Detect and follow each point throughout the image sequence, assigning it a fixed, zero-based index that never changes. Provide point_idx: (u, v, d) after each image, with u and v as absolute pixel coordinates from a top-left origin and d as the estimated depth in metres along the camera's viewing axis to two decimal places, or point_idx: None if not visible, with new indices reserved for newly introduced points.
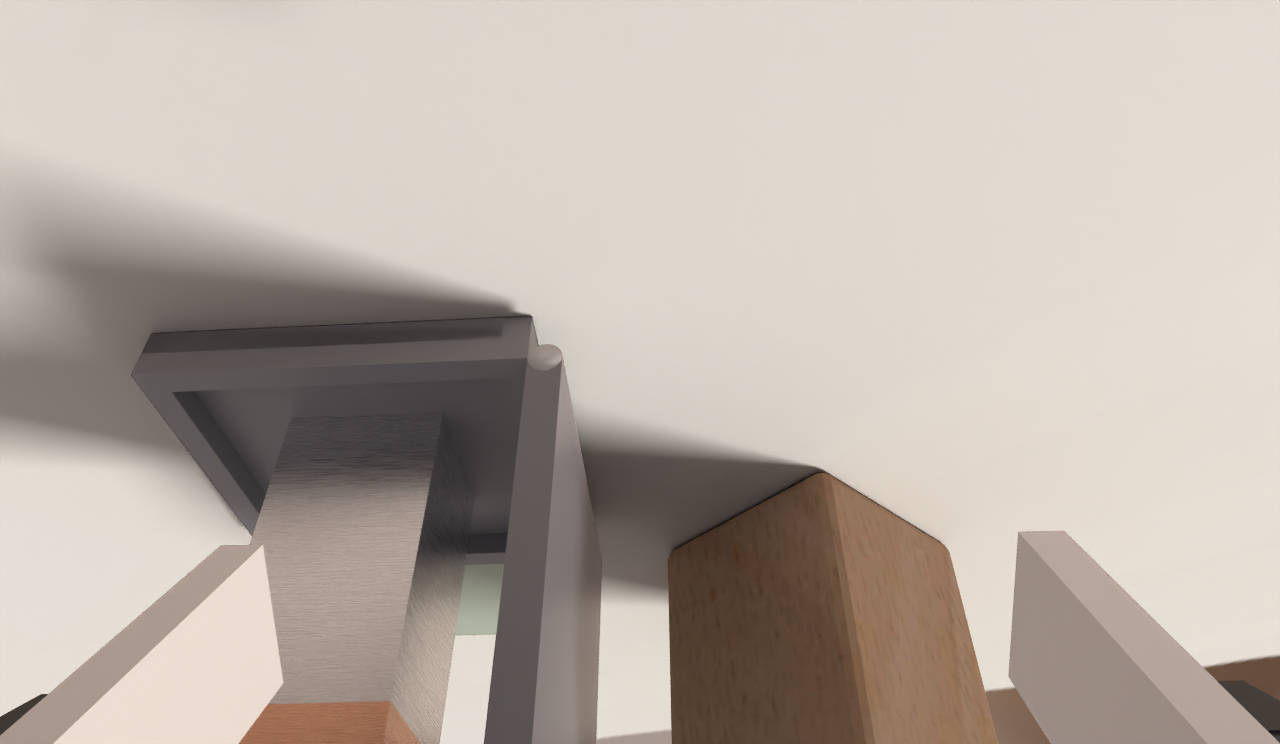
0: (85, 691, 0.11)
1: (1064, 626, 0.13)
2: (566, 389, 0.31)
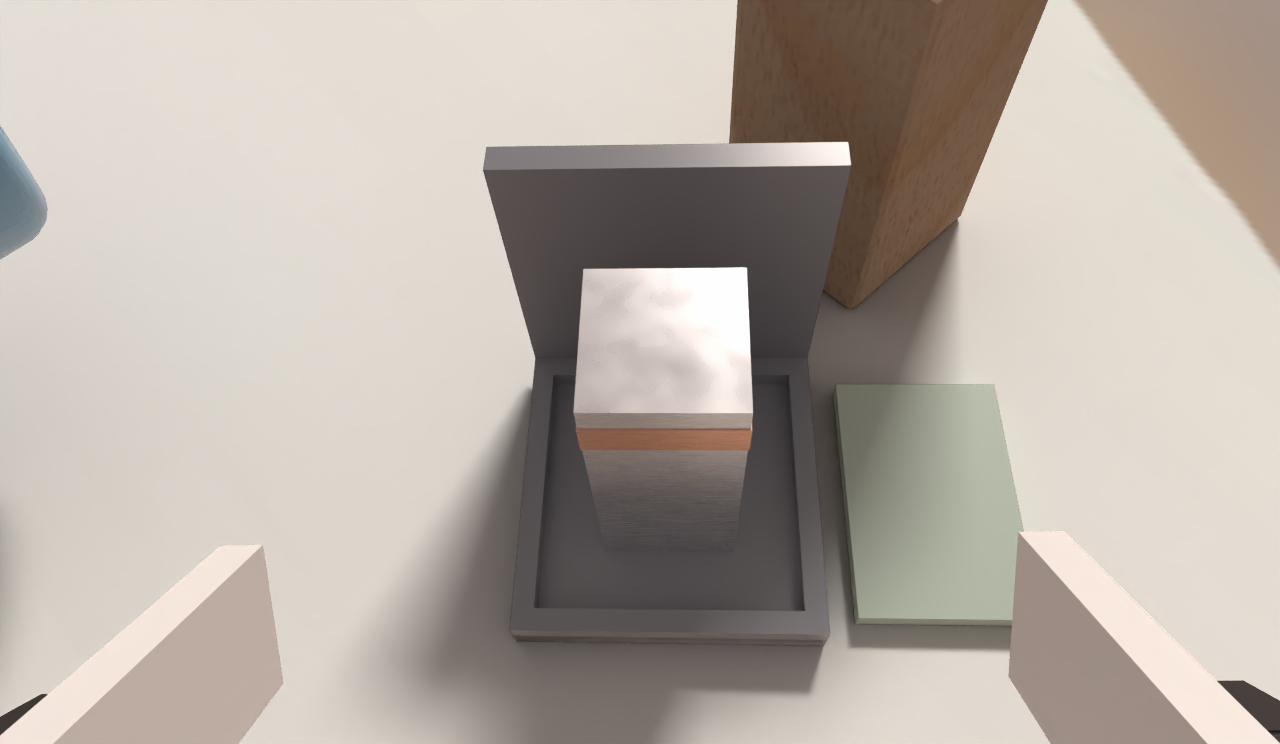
0: (85, 691, 0.11)
1: (1064, 626, 0.13)
2: None
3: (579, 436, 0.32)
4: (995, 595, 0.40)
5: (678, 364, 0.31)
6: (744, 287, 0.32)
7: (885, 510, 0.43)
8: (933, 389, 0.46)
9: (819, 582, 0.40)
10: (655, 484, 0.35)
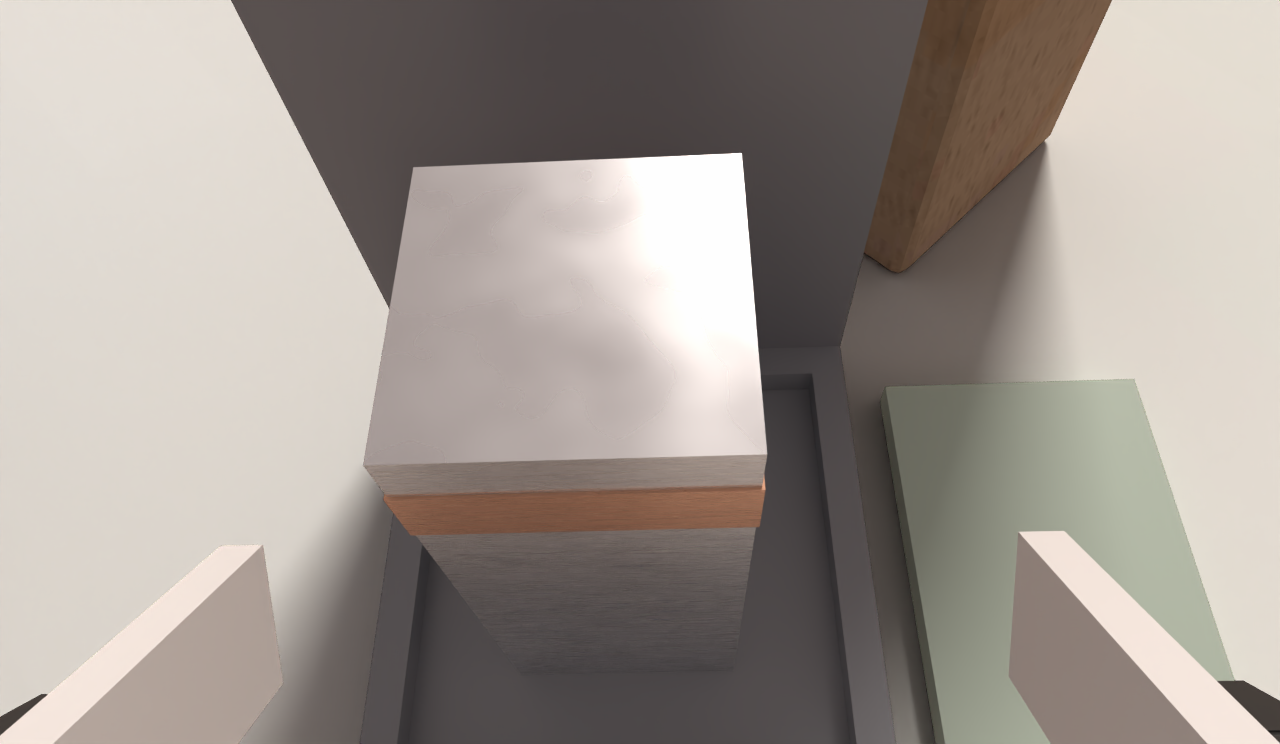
0: (85, 691, 0.11)
1: (1065, 627, 0.13)
2: None
3: (397, 511, 0.15)
4: None
5: (600, 350, 0.14)
6: (738, 190, 0.16)
7: (981, 591, 0.26)
8: (1039, 390, 0.29)
9: (882, 727, 0.23)
10: (580, 587, 0.18)
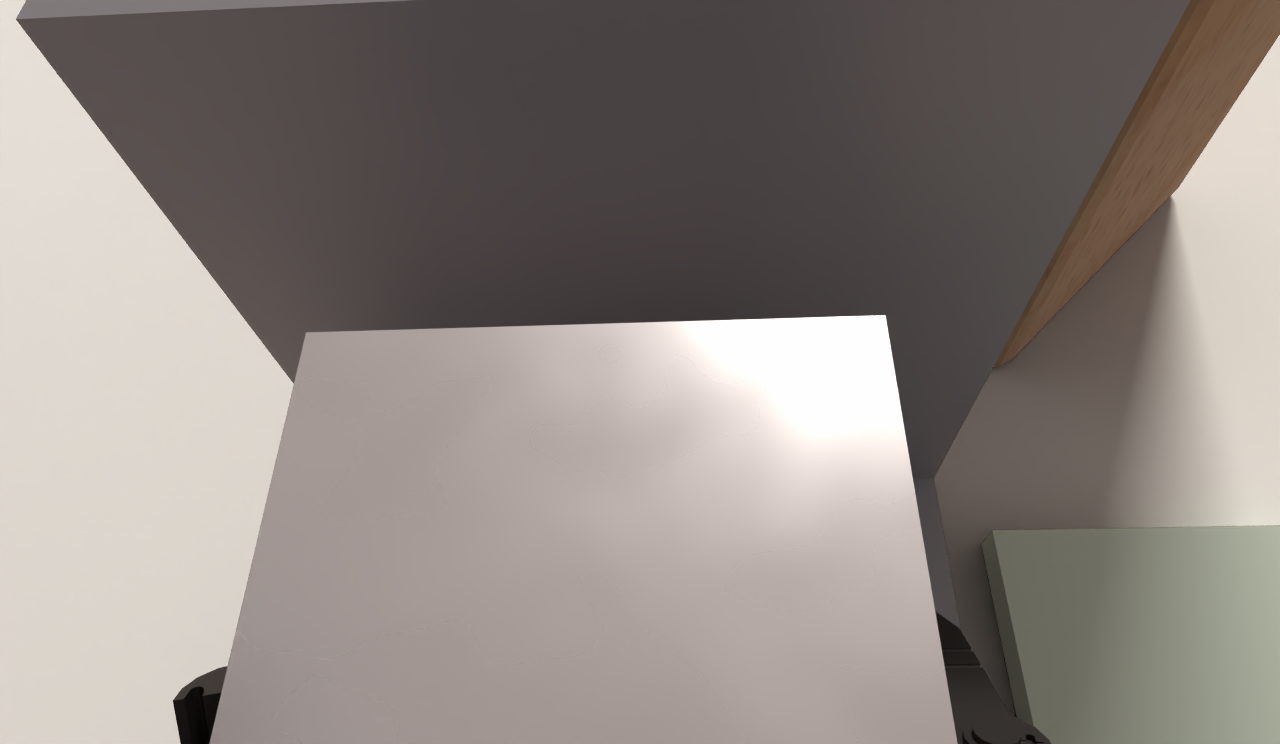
0: None
1: None
2: None
3: None
4: None
5: None
6: (886, 390, 0.09)
7: None
8: (1199, 538, 0.22)
9: None
10: None
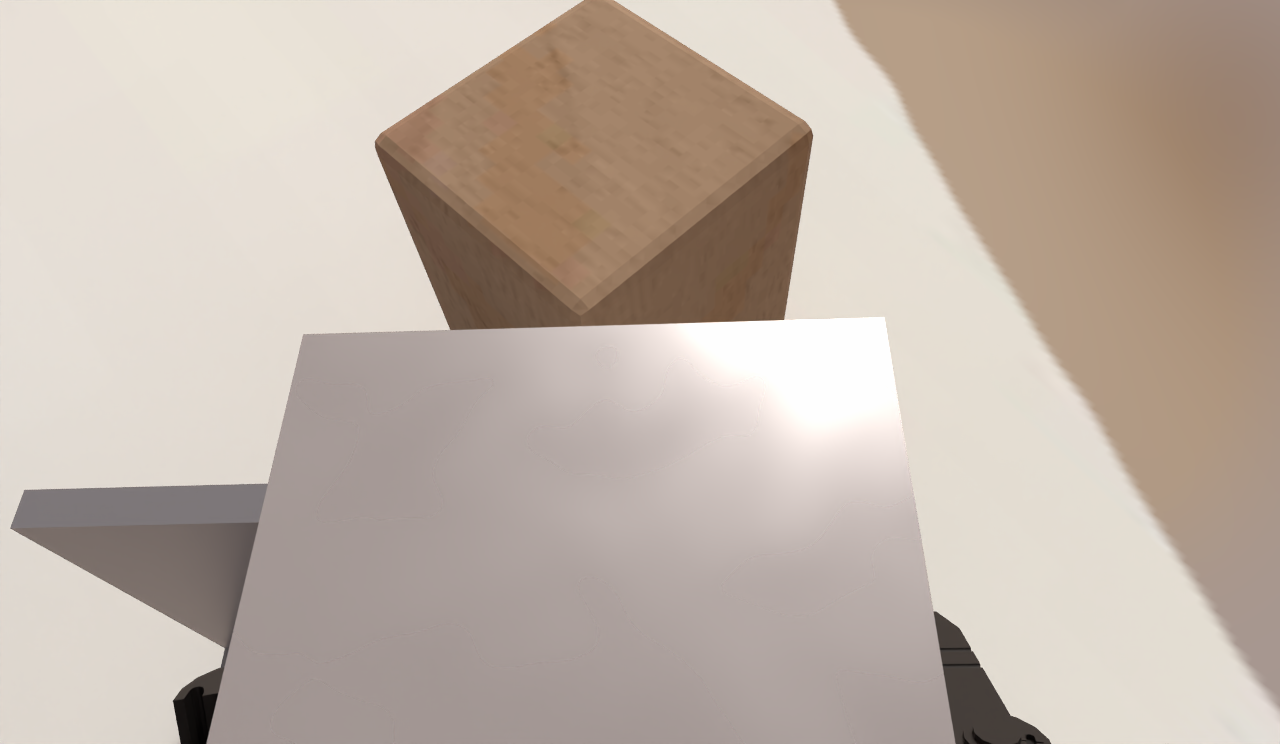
0: None
1: None
2: None
3: None
4: None
5: None
6: (884, 393, 0.09)
7: None
8: None
9: None
10: None
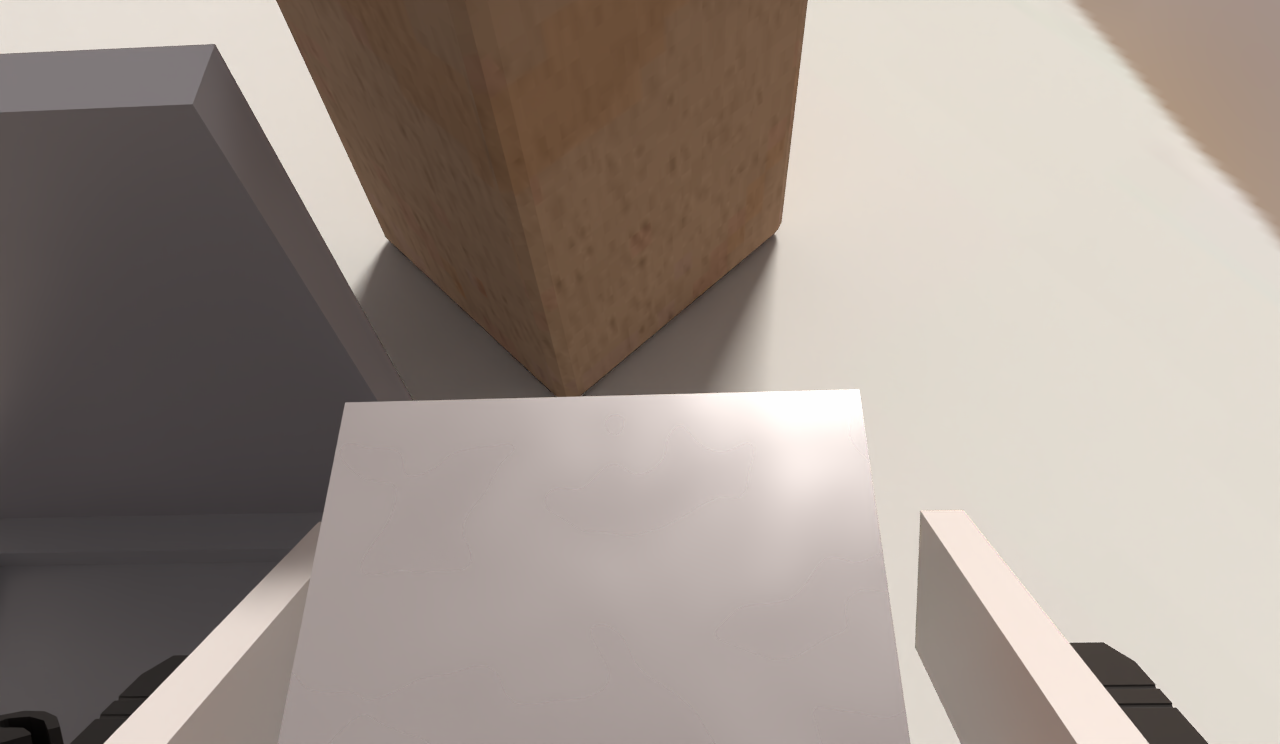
0: (227, 649, 0.12)
1: (952, 596, 0.14)
2: None
3: None
4: None
5: None
6: (859, 459, 0.10)
7: None
8: None
9: None
10: None
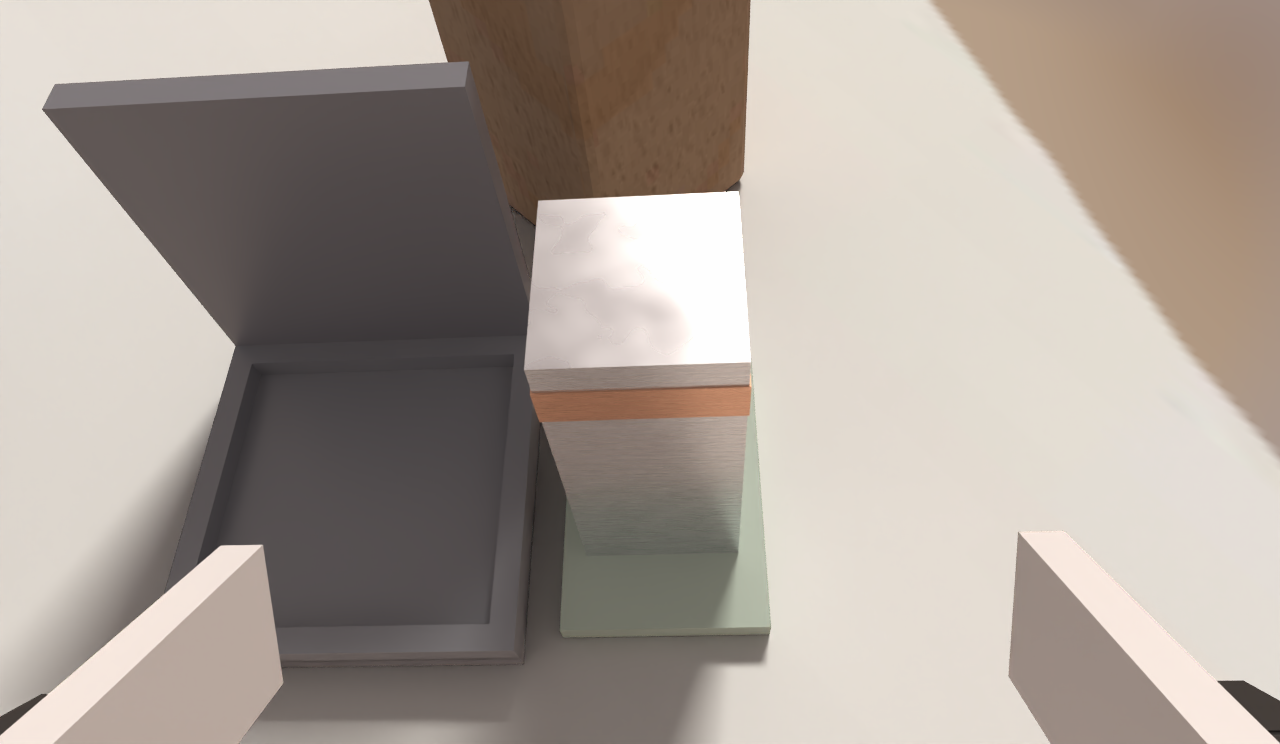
0: (85, 691, 0.11)
1: (1065, 627, 0.13)
2: None
3: (535, 403, 0.25)
4: (721, 598, 0.34)
5: (655, 307, 0.25)
6: (736, 214, 0.26)
7: None
8: None
9: (511, 589, 0.34)
10: (637, 467, 0.29)
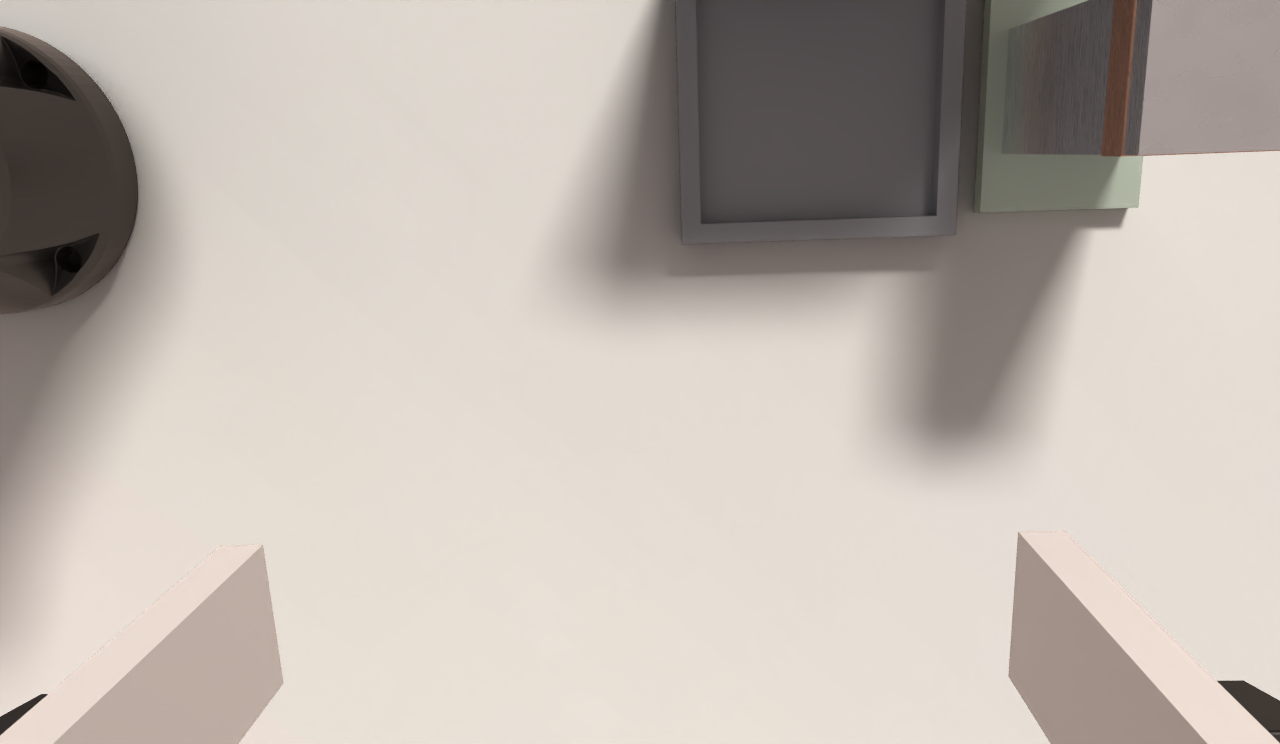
0: (84, 691, 0.11)
1: (1065, 627, 0.13)
2: None
3: None
4: (1104, 186, 0.46)
5: (1245, 96, 0.32)
6: None
7: None
8: None
9: (952, 189, 0.45)
10: None
